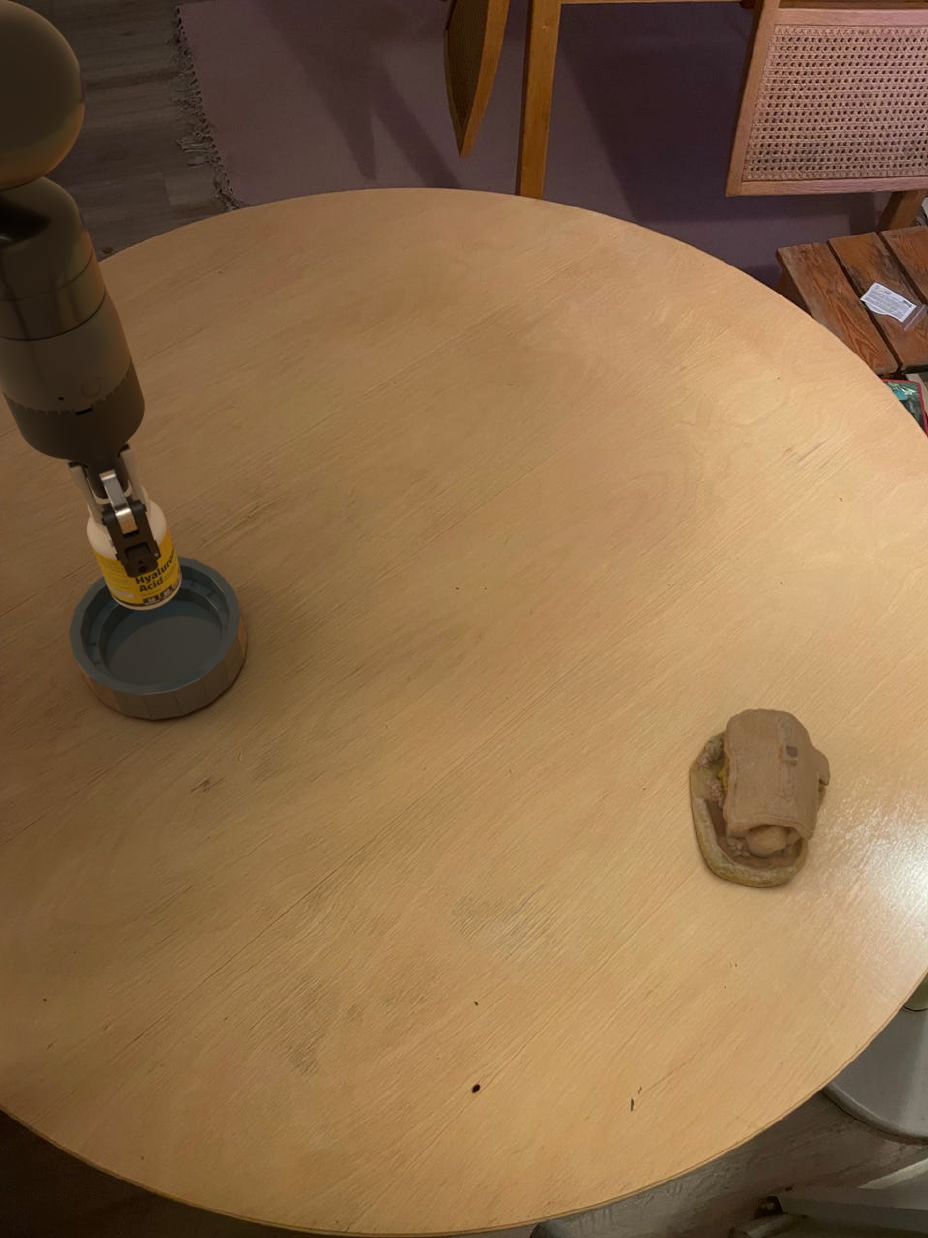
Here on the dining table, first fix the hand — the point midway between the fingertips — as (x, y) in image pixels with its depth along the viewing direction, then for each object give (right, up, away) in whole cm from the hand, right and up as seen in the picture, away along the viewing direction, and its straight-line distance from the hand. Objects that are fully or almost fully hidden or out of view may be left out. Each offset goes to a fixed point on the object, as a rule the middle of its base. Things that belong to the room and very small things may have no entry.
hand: (129, 539), depth 74 cm
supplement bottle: (0, -3, +5) cm, 6 cm away
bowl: (-2, -9, +17) cm, 19 cm away
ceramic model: (+48, -21, +11) cm, 53 cm away
